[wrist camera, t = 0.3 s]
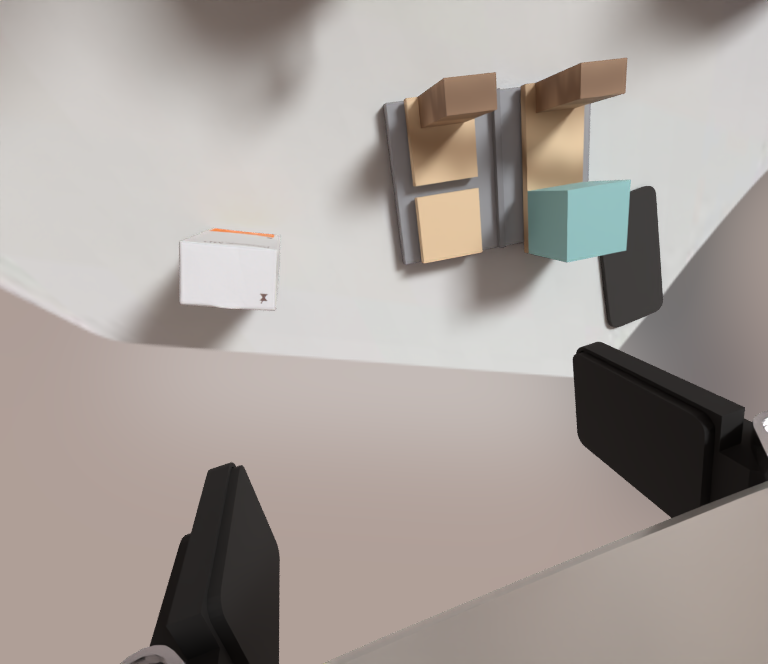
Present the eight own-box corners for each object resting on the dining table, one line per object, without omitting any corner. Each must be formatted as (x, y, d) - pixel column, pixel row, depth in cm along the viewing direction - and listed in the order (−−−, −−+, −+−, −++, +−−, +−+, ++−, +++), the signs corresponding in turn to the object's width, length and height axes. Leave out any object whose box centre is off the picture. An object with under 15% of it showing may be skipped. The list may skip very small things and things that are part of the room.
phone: (656, 182, 44) (664, 308, 50) (649, 182, 45) (658, 306, 50) (596, 205, 43) (611, 330, 49) (590, 205, 44) (606, 328, 50)
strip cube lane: (520, 86, 37) (569, 64, 31) (579, 79, 38) (638, 56, 32) (524, 252, 42) (567, 262, 36) (576, 242, 43) (626, 250, 37)
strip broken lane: (403, 100, 35) (430, 79, 29) (468, 92, 36) (508, 70, 30) (413, 186, 37) (439, 184, 31) (474, 176, 38) (511, 173, 32)
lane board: (383, 105, 36) (389, 100, 34) (584, 81, 39) (599, 75, 37) (403, 262, 41) (409, 266, 39) (580, 229, 44) (594, 230, 42)
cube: (527, 191, 39) (567, 190, 34) (582, 181, 40) (630, 179, 35) (528, 253, 41) (567, 262, 36) (581, 243, 42) (626, 250, 37)
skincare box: (281, 233, 37) (280, 249, 26) (278, 279, 39) (277, 313, 27) (209, 225, 36) (177, 239, 25) (209, 274, 37) (178, 307, 26)
